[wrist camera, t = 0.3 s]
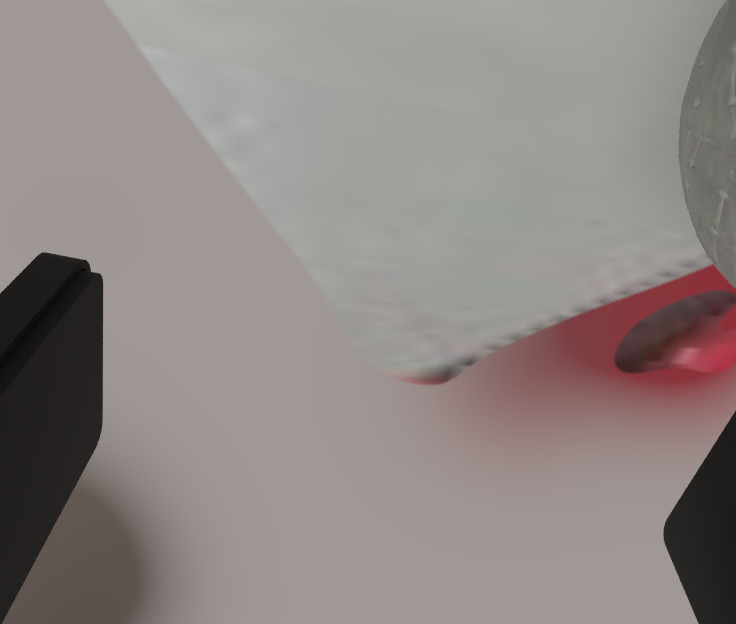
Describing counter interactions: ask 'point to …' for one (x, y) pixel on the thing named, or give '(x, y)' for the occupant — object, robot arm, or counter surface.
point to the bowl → (712, 143)
